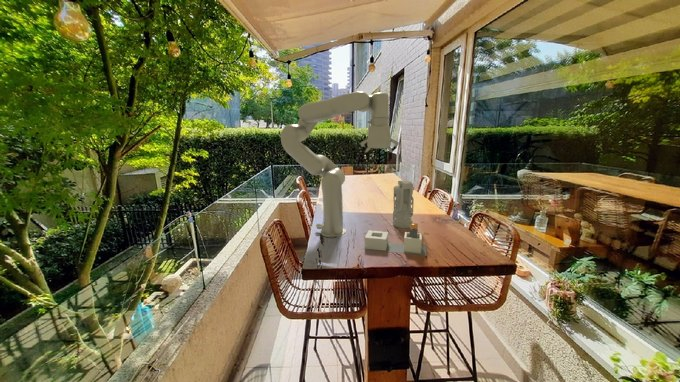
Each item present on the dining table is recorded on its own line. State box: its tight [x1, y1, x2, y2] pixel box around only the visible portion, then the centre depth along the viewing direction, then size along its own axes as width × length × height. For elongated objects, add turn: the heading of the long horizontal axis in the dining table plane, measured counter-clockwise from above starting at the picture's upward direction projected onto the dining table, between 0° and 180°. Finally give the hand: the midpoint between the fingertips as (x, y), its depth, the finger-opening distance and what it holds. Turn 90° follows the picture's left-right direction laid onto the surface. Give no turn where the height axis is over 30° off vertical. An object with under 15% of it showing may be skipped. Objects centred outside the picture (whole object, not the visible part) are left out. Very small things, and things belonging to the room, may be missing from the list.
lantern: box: [392, 180, 415, 229], centre depth 140 cm, size 13×10×25 cm
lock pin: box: [409, 222, 419, 238], centre depth 110 cm, size 3×3×11 cm
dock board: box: [361, 229, 427, 259], centre depth 113 cm, size 26×10×7 cm, turn 74°
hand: (378, 161), depth 122 cm, fingers open, 9 cm apart
